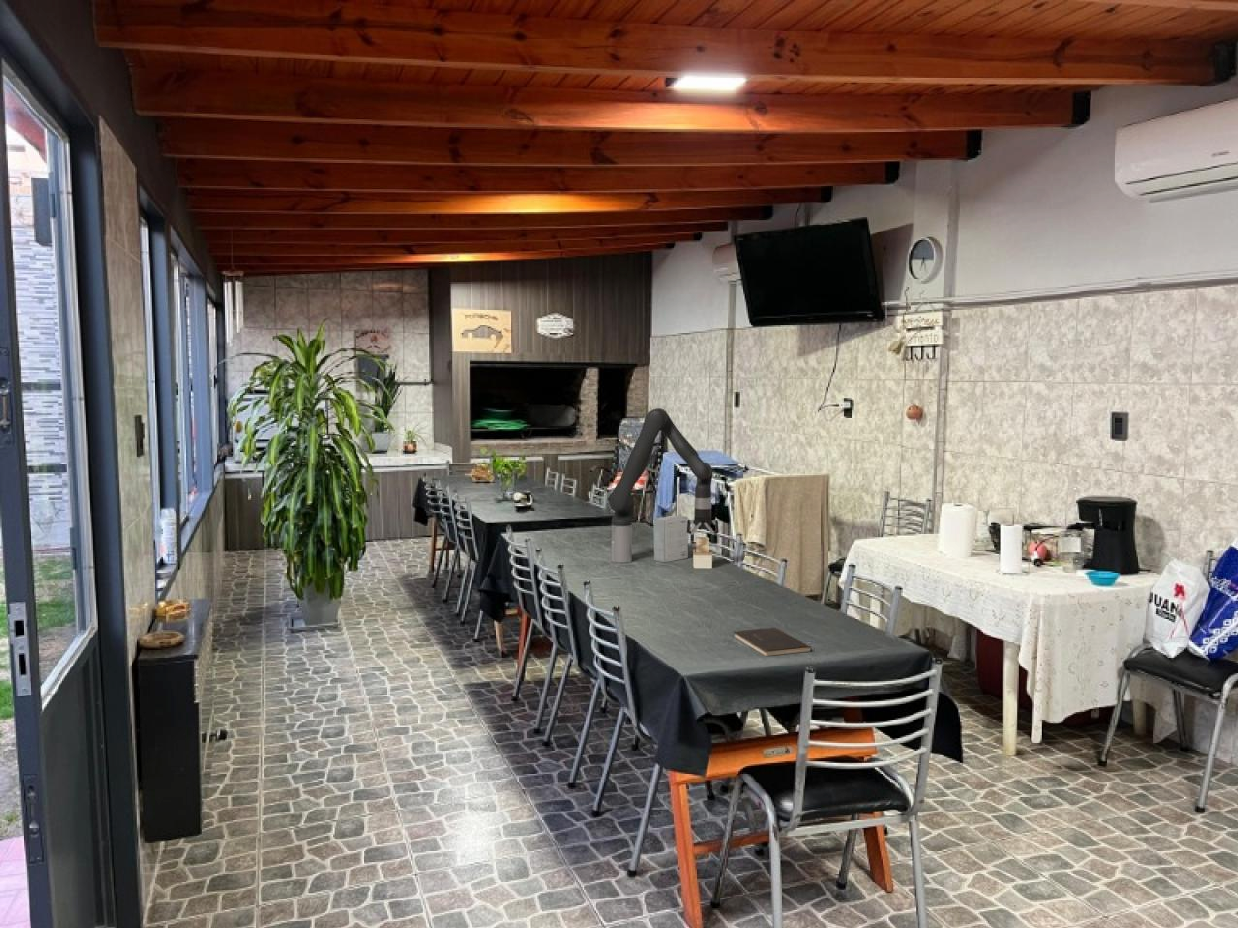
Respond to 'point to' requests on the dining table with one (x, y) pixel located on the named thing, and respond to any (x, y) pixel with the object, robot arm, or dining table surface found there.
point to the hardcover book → (771, 641)
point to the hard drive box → (670, 538)
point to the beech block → (702, 544)
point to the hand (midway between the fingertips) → (702, 542)
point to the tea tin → (702, 559)
